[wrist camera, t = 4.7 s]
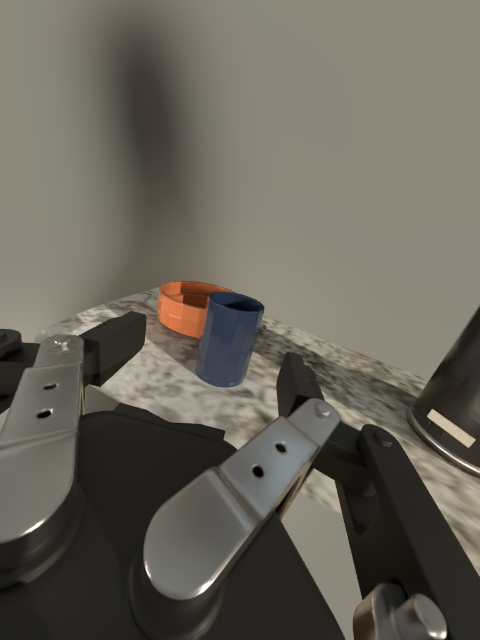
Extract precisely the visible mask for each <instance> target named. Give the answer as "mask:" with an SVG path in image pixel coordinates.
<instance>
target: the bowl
mask: <svg viewBox="0 0 480 640" xmlns="http://www.w3.org/2000/svg"><path fill="white" fill-rule="evenodd" d="M213 292H232V293H235V292H233V291H231V290H228V289H225V288H222V287H219V286H215V285H211V284H206V283H200V282H191V281H174V282H168V283H165V284H163V285H161V287H160V289H159V299H158V310H157V316H158V318H159V320H160V322H161V323H163V324H164V325H165V326H166V327H168V328H170V329H172V330H174V331H176V332H179V333H181V334H184V335H188V336H191V337H196V338H201V333H202V327H203V322H204V316H205V311H206V305H207V299H208V295H209V294H210V293H213Z"/></svg>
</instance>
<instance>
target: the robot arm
mask: <svg viewBox="0 0 480 640" xmlns="http://www.w3.org/2000/svg"><path fill="white" fill-rule="evenodd" d="M146 320H147V318H146V315H145V314H141V313H137V312H133V311H130V312H128V313H127V314H125V315H123V316H121V317H117V318H113V319H109V320H107V321H105V322H103V323H102V324H99V325H98V326H96V327H94V328H92V329H90V330H88V331H86V332H84V333H82V334H80V335H79V336H76V335H57V336H53V337H49V338H47V339H45V340H44V341H42V343H41V344H37V343H22V339H21V334H20V333H19V332H18V331H15V330H11V329H0V414H1V413H3V412H4V411H5V410H7V409H8V408H10V410H9V412H8V414H7V417H6V420H5V422H4V425H3V428H2V430H1V433H0V640H345V638H344V635H343V633H342V631H341V629H340V627H339V625H338V623H337V621H336V619H335V617H334V615H333V613H332V612H331V610H330V608H329V606H328V604H327V603H326V601H325V599H324V597H323V595H322V594H321V592H320V590H319V588H318V586H317V585H316V583H315V581H314V579H313V578H312V576H311V574H310V572H309V570H308V569H307V567H306V565H305V563H304V561H303V560H302V558H301V556H300V554H299V552H298V551H297V549H296V547H295V545H294V544H293V542H292V540H291V538H290V537H289V535H288V533H287V531H286V529H285V528H284V526H283V524H282V522H281V520H282V518H283V517H284V515H285V513H286V512H287V510H288V508H289V506H290V505H291V503H292V501H293V500H294V499H295V497H296V496H297V494H298V493H299V491H300V490H301V488H302V487H303V485H304V484H305V482H306V481H307V479H308V478H309V477H310V475H311V474H312V472H313V471H314V469H316V470H318V471H320V472H321V473H323V474H325V475H327V476H328V477H330V478H332V479H333V480H335V484H336V489H337V493H338V497H339V501H340V506H341V510H342V514H343V519H344V523H345V527H346V531H347V535H348V539H349V544H350V548H351V553H352V556H353V561H354V565H355V570H356V574H357V579H358V582H359V587H360V591H361V596H362V600H363V601H362V602H361V603H360V604H359V605H358V606H357V608H356V610H355V612H354V617H353V633H354V640H480V577H479V575H478V573H477V572H476V570H475V568H474V567H473V565H472V563H471V562H470V560H469V558H468V557H467V555H466V553H465V552H464V550H463V548H462V547H461V545H460V543H459V542H458V540H457V538H456V536H455V535H454V533H453V531H452V530H451V528H450V526H449V525H448V523H447V521H446V520H445V518H444V516H443V515H442V513H441V511H440V510H439V508H438V506H437V505H436V503H435V501H434V500H433V498H432V496H431V495H430V493H429V491H428V490H427V488H426V486H425V485H424V483H423V481H422V480H421V478H420V476H419V475H418V473H417V471H416V470H415V468H414V466H413V465H412V463H411V461H410V460H409V458H408V456H407V455H406V453H405V451H404V450H403V448H402V446H401V445H400V443H399V442H398V441H397V439H396V438H395V437H393V436H392V435H391V434H390V433H389V432H387V431H386V430H384V429H382V428H380V427H378V426H376V425H372V424H366V425H364V426H363V427H362V429H361V431H359V430H357V429H355V428H353V427H351V426H349V425H347V424H345V423H343V422H341V421H340V415H339V413H338V412H337V410H336V409H335V408H334V407H333V406H332V405H330V404H329V403H327V402H325V400H324V397H323V394H322V392H321V389H320V386H319V384H318V381H317V378H316V375H315V373H314V372H313V370H312V369H311V368H310V367H309V366H306V365H304V363H303V359H302V356H301V355H298V354H294V353H291V352H287V353H286V355H285V358H284V361H283V363H282V366H281V369H280V372H279V375H278V378H277V384H276V387H277V400H278V413H279V417H278V418H276V419H275V420H274V421H273V422H272V423H270V424H269V425H268V426H267V427H265V428H264V429H263V430H262V431H261V432H259V433H258V434H257V435H256V436H255V437H253V438H252V439H251V440H250V441H248V442H247V443H246V444H245V445H244V446H242V447H241V448H240V449H239V450H237V449H236V448H235V447H234V446H233V445H231V444H230V443H228V442H227V441H225V440H223V439H224V434H225V431H224V430H221V429H217V428H213V427H209V426H205V425H202V424H191V423H171V422H168V421H166V420H164V419H162V418H160V417H158V416H156V415H155V414H153V413H151V412H149V411H147V410H145V409H141V408H138V407H134V406H130V405H126V404H122V403H120V404H119V405H118V406H117V407H116V408H115V410H113V411H99V412H93V413H88V414H85V393H86V392H85V387H86V386H87V385H88V384H91V385H94V386H98V387H101V386H102V385H103V384H104V383H105V382H106V381H107V380H108V379H109V378H111V377H112V376H113V375H114V374H115V373H116V372H117V371H118V370H119V369H120V368H122V367H123V366H124V365H125V364H126V363H127V362H128V361H129V360H130V359H131V358H133V357H134V356H135V355H136V354H137V353H138V352H139V351H140V350H141V349H142V347H143V345H144V342H145V332H146ZM407 418H408V421H409V423H410V425H411V426H412V428H413V429H414V430H415V431H416V433H417V434H418V435H419V436H420V437H421V438H422V439H423V440H424V441H425V442H426V443H427V444H428V445H429V446H431V447H432V448H433V449H434V450H435V451H437V452H438V453H439V454H440V455H442V456H443V457H444V458H446V459H447V460H449V461H450V462H452V463H453V464H455V465H456V466H458V467H460V468H461V469H463V470H465V471H466V472H468V473H470V474H472V475H474V476H476V477H478V478H480V306H479V307H478V308H477V310H476V311H475V313H474V314H473V316H472V317H471V319H470V320H469V322H468V323H467V325H466V326H465V328H464V329H463V331H462V332H461V334H460V335H459V337H458V338H457V340H456V341H455V343H454V344H453V346H452V347H451V349H450V350H449V352H448V353H447V355H446V356H445V358H444V359H443V361H442V362H441V364H440V365H439V367H438V368H437V370H436V371H435V373H434V374H433V376H432V377H431V379H430V380H429V382H428V383H427V385H426V386H425V388H424V389H423V391H422V392H421V394H420V395H419V397H418V398H417V400H416V401H415V403H414V404H412V405H411V407H410V408H409V410H408V411H407Z"/></svg>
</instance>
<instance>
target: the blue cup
mask: <svg viewBox="0 0 480 640" xmlns="http://www.w3.org/2000/svg"><path fill="white" fill-rule="evenodd" d="M263 313H264V306H263V305H262V304H261V303H260V302H258V301H257V300H255V299H253V298H250V297H248V296H245V295H241V294H237V293H232V292H213V293H210V294H209V295H208V299H207V305H206V311H205V316H204V322H203V327H202V333H201V339H200V344H199V350H198V355H197V361H196V372H197V374H198V376H199V377H200V378H201V379H202V380H203V381H205V382H207V383H209V384H211V385H214V386H218V387H233V386H236V385H239V384H240V383H241V382H242V381H243V380H244V378H245V376H246V373H247V369H248V366H249V362H250V358H251V355H252V351H253V348H254V344H255V341H256V337H257V334H258V330H259V327H260V323H261V320H262V316H263Z"/></svg>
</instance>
